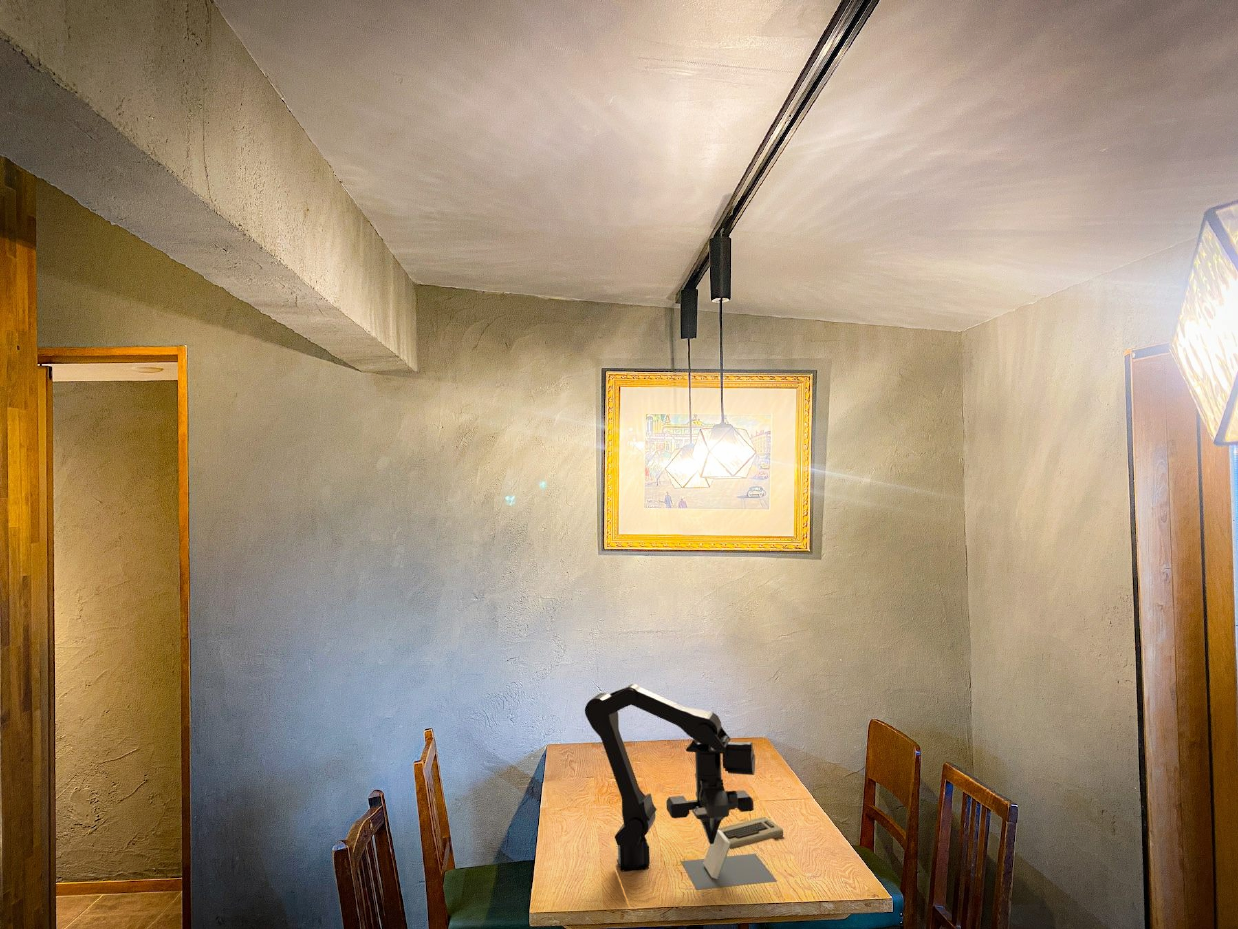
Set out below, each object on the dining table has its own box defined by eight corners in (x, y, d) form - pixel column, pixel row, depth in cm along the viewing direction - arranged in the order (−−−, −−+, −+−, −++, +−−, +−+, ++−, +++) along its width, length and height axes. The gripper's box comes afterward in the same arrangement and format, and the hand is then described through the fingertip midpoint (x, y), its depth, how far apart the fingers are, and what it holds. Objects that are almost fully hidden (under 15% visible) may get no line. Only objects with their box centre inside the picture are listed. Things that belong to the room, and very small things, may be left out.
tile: (711, 877, 170) (725, 841, 171) (703, 863, 177) (715, 828, 178) (717, 879, 170) (731, 843, 171) (708, 865, 177) (721, 831, 178)
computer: (732, 853, 185) (731, 838, 186) (712, 840, 193) (712, 827, 193) (784, 839, 193) (783, 825, 193) (763, 827, 200) (763, 814, 200)
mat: (696, 892, 166) (696, 890, 166) (680, 864, 179) (680, 861, 179) (777, 884, 169) (777, 881, 169) (755, 856, 182) (755, 853, 182)
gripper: (676, 787, 165) (678, 863, 164) (760, 780, 168) (763, 854, 167) (664, 770, 176) (667, 842, 175) (744, 764, 179) (746, 834, 178)
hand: (711, 843), depth 174 cm, fingers closed
